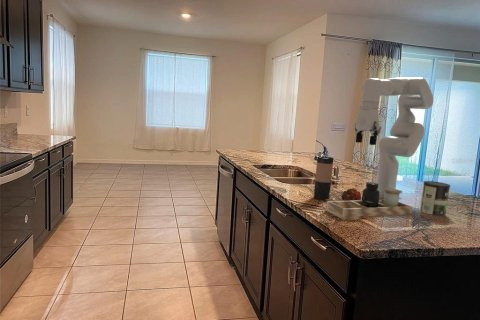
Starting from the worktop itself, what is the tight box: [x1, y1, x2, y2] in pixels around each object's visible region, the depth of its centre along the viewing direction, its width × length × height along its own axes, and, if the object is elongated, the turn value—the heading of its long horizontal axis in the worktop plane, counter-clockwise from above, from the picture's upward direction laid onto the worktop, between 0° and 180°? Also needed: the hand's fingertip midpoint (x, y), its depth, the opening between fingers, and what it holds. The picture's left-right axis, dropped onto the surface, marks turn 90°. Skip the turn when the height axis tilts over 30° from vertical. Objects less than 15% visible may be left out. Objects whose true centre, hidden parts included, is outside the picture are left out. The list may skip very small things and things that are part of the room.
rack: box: [325, 199, 413, 221], centre depth 154 cm, size 34×13×4 cm, turn 110°
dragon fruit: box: [340, 187, 362, 201], centre depth 167 cm, size 8×8×12 cm
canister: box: [383, 188, 401, 207], centre depth 157 cm, size 6×6×9 cm
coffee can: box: [419, 180, 451, 216], centre depth 159 cm, size 10×10×14 cm
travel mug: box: [313, 156, 334, 201], centre depth 174 cm, size 8×8×20 cm
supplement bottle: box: [361, 181, 380, 208], centre depth 153 cm, size 7×7×12 cm
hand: (365, 143), depth 167 cm, fingers open, 9 cm apart
